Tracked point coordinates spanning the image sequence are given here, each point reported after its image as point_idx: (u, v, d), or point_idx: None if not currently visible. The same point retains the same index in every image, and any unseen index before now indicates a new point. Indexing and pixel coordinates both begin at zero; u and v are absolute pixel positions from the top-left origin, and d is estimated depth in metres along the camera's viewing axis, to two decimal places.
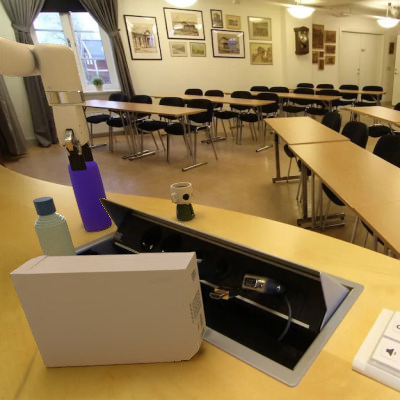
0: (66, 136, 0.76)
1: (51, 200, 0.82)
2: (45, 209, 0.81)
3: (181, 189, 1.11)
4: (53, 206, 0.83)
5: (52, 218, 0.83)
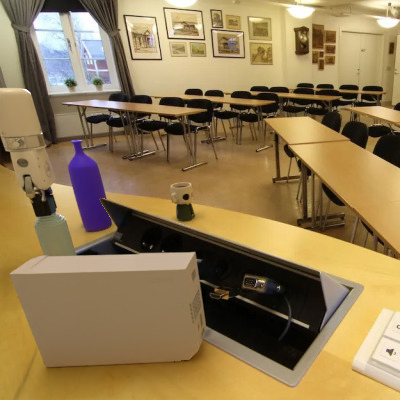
0: None
1: (51, 200, 0.82)
2: None
3: (181, 189, 1.11)
4: (53, 206, 0.83)
5: (52, 218, 0.83)
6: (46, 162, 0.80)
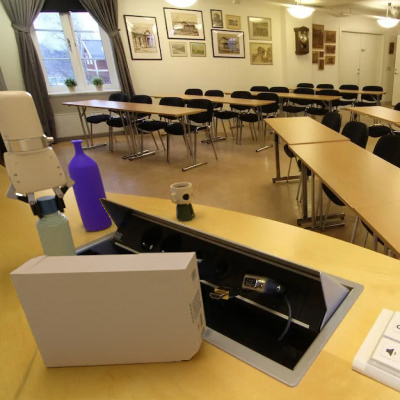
0: None
1: None
2: None
3: (181, 189, 1.11)
4: None
5: (54, 217, 0.83)
6: None
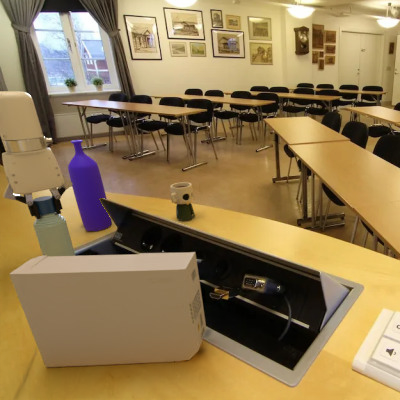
0: (5, 190, 0.76)
1: None
2: None
3: (181, 189, 1.11)
4: None
5: (52, 218, 0.83)
6: None
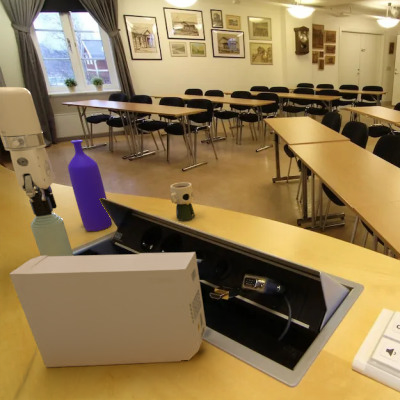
0: None
1: (30, 202, 0.80)
2: None
3: (181, 189, 1.11)
4: (32, 208, 0.81)
5: (49, 218, 0.82)
6: (46, 161, 0.80)
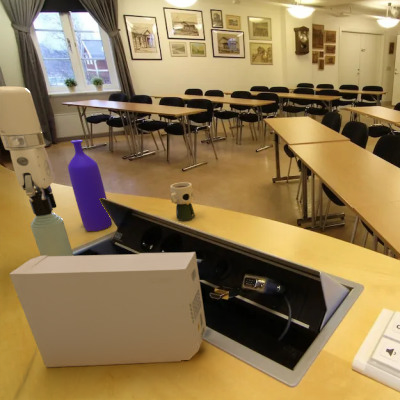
0: None
1: None
2: None
3: (181, 189, 1.11)
4: None
5: (49, 218, 0.82)
6: (46, 161, 0.80)
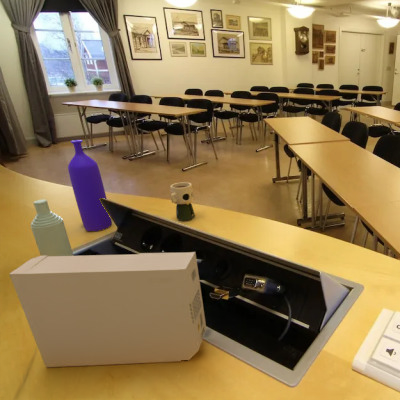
0: None
1: None
2: None
3: (181, 189, 1.11)
4: None
5: (49, 218, 0.82)
6: None
